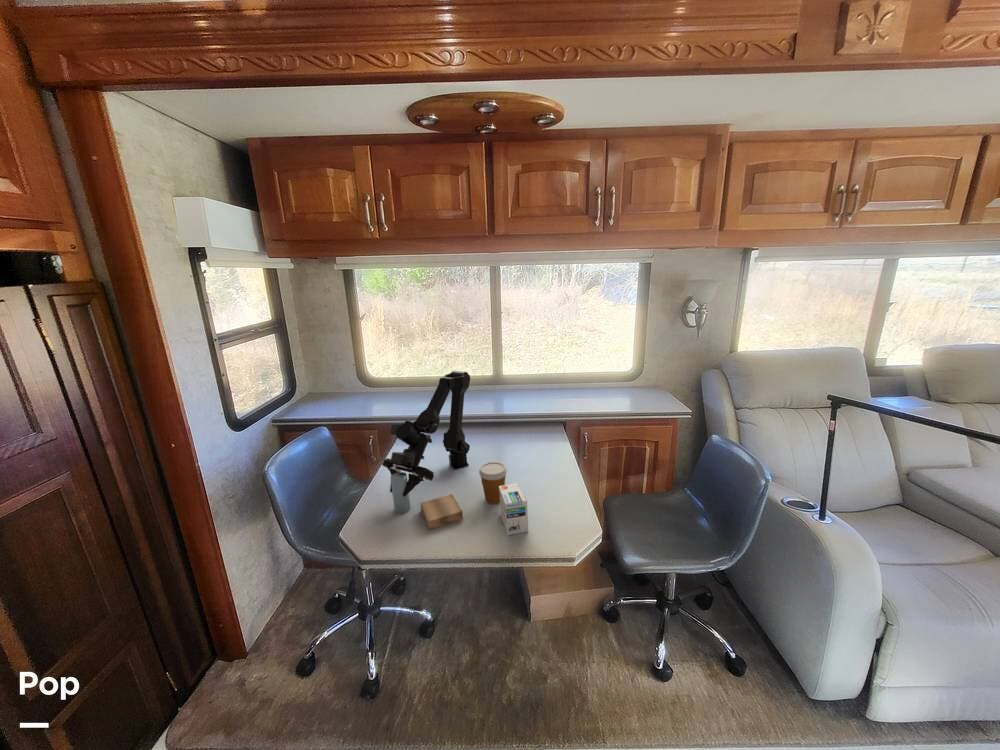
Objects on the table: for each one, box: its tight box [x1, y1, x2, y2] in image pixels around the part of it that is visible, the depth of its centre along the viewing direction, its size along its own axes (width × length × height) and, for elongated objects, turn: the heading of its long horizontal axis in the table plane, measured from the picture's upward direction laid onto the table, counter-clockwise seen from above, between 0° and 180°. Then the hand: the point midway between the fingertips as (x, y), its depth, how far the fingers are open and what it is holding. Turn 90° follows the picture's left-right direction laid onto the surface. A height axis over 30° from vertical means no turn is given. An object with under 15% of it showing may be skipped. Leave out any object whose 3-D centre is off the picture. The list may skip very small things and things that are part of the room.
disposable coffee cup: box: [478, 461, 508, 505], centre depth 128 cm, size 10×10×12 cm
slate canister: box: [390, 471, 411, 515], centre depth 125 cm, size 5×5×12 cm
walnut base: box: [420, 493, 464, 530], centre depth 122 cm, size 11×11×3 cm
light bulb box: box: [499, 482, 529, 536], centre depth 115 cm, size 11×7×11 cm, turn 12°
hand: (397, 494), depth 124 cm, fingers closed on slate canister, 5 cm apart
